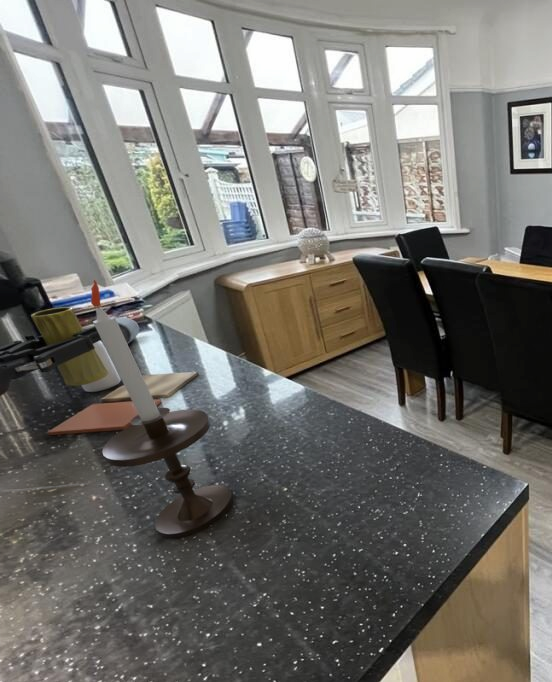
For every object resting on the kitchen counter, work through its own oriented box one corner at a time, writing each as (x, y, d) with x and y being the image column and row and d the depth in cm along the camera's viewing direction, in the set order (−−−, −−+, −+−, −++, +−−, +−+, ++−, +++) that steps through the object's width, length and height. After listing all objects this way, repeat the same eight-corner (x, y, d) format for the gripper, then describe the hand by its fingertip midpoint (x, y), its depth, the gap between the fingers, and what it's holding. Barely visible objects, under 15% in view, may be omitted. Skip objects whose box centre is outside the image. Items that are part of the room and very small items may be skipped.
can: (106, 378, 98) (83, 334, 93) (128, 380, 97) (107, 335, 92) (77, 392, 92) (51, 346, 87) (100, 393, 91) (75, 347, 86)
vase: (58, 389, 74) (18, 319, 69) (76, 375, 80) (39, 309, 74) (100, 382, 77) (64, 313, 71) (114, 369, 82) (82, 304, 76)
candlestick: (231, 475, 65) (144, 265, 51) (247, 511, 58) (152, 279, 44) (145, 512, 58) (18, 283, 44) (152, 559, 51) (3, 303, 37)
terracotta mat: (49, 435, 77) (47, 432, 76) (94, 407, 86) (92, 404, 86) (125, 429, 78) (123, 426, 77) (161, 402, 87) (160, 399, 87)
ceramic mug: (145, 335, 124) (134, 312, 121) (136, 344, 118) (124, 320, 114) (101, 342, 120) (89, 319, 117) (90, 352, 113) (76, 328, 110)
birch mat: (101, 402, 88) (100, 399, 87) (139, 378, 98) (138, 375, 97) (168, 397, 89) (166, 394, 88) (198, 374, 99) (197, 371, 98)
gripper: (-99, 414, 59) (52, 349, 80) (33, 404, 60) (147, 343, 82) (-134, 370, 56) (32, 315, 77) (6, 360, 57) (132, 309, 79)
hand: (91, 329), depth 79 cm, fingers closed on vase, 5 cm apart
